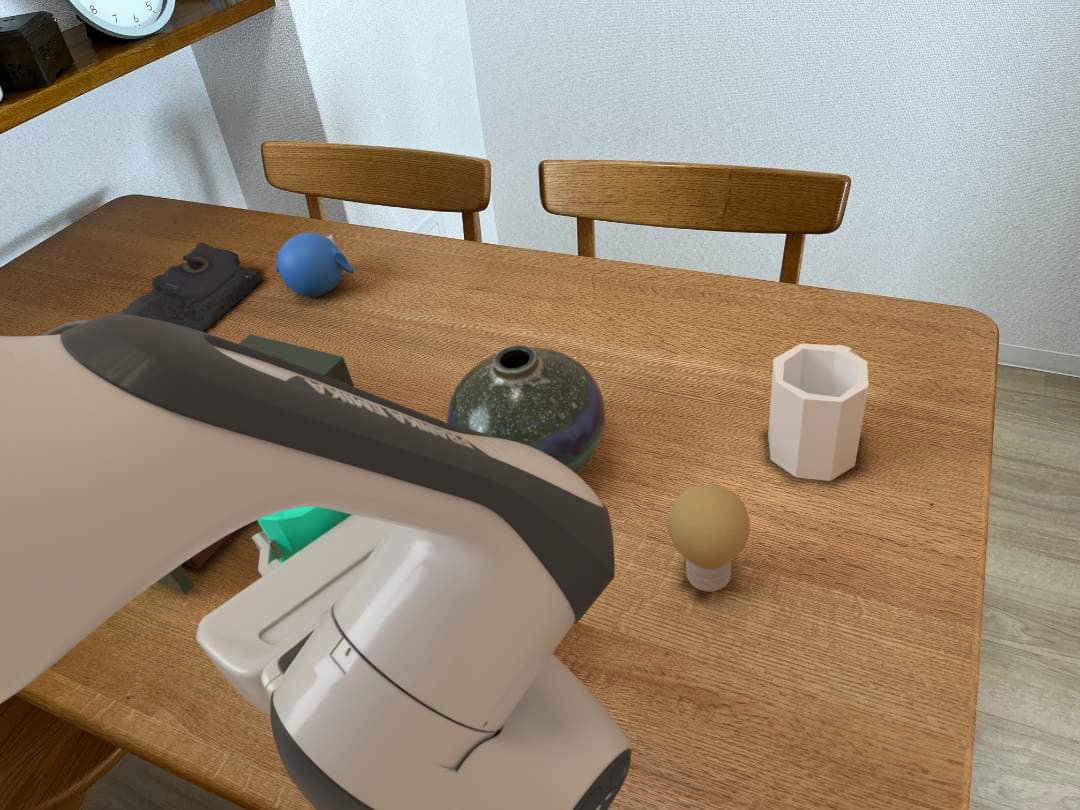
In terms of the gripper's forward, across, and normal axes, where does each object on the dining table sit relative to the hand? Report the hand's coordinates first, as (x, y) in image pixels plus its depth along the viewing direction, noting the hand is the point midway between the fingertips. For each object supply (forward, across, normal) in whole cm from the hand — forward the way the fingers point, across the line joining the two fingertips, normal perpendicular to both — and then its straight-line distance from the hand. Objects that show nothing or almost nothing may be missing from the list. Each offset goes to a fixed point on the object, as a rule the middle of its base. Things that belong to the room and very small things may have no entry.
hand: (300, 512), depth 58 cm
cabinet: (+29, -7, +17) cm, 34 cm away
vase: (+5, -24, +17) cm, 30 cm away
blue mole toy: (+54, -28, +17) cm, 63 cm away
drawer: (+24, +5, +16) cm, 30 cm away
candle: (-1, 0, +7) cm, 7 cm away
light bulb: (-17, -24, +17) cm, 34 cm away
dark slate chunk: (+66, -12, +17) cm, 69 cm away
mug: (-15, -44, +17) cm, 50 cm away
